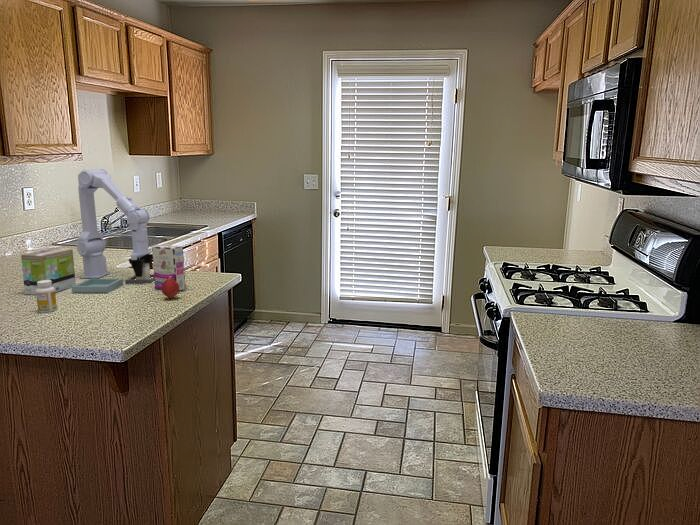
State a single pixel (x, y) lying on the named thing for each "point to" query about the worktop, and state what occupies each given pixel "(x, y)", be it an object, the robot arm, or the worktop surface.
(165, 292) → the onion
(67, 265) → the tea box
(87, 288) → the parts tray
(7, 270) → the worktop surface
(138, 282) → the socket collar
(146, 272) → the tan rectangular block
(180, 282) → the candy bar box
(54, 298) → the supplement bottle
